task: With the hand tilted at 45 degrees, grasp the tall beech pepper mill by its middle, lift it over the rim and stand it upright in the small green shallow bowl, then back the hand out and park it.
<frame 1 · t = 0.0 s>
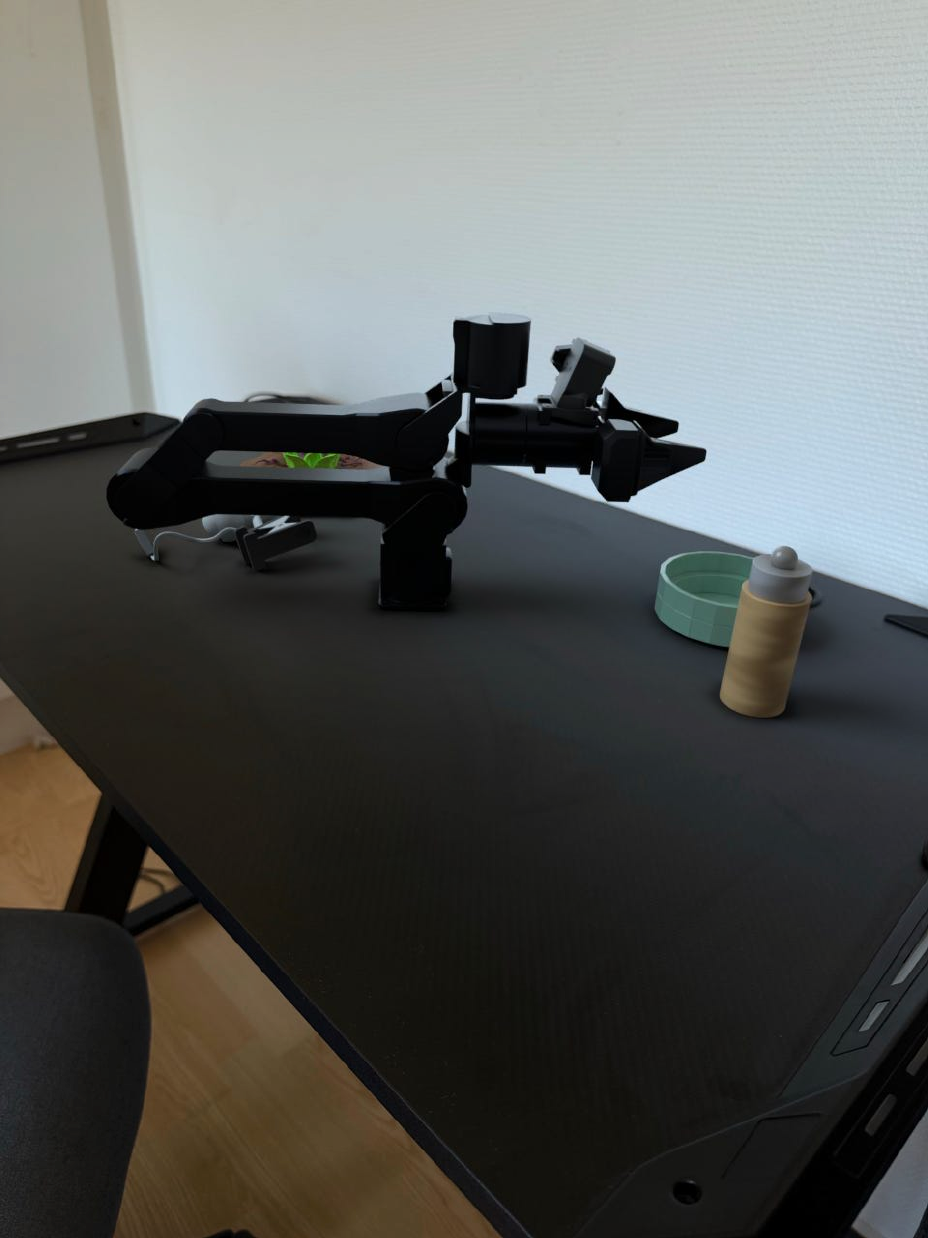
hand: (691, 440, 82), 17 cm above the table, tool horizontal, fingers open, 9 cm apart
pepper mill: (751, 700, 74), on the table
clip-on lamp: (225, 554, 96), on the table
plant: (311, 491, 115), on the table
green shallow bowl: (721, 620, 87), on the table
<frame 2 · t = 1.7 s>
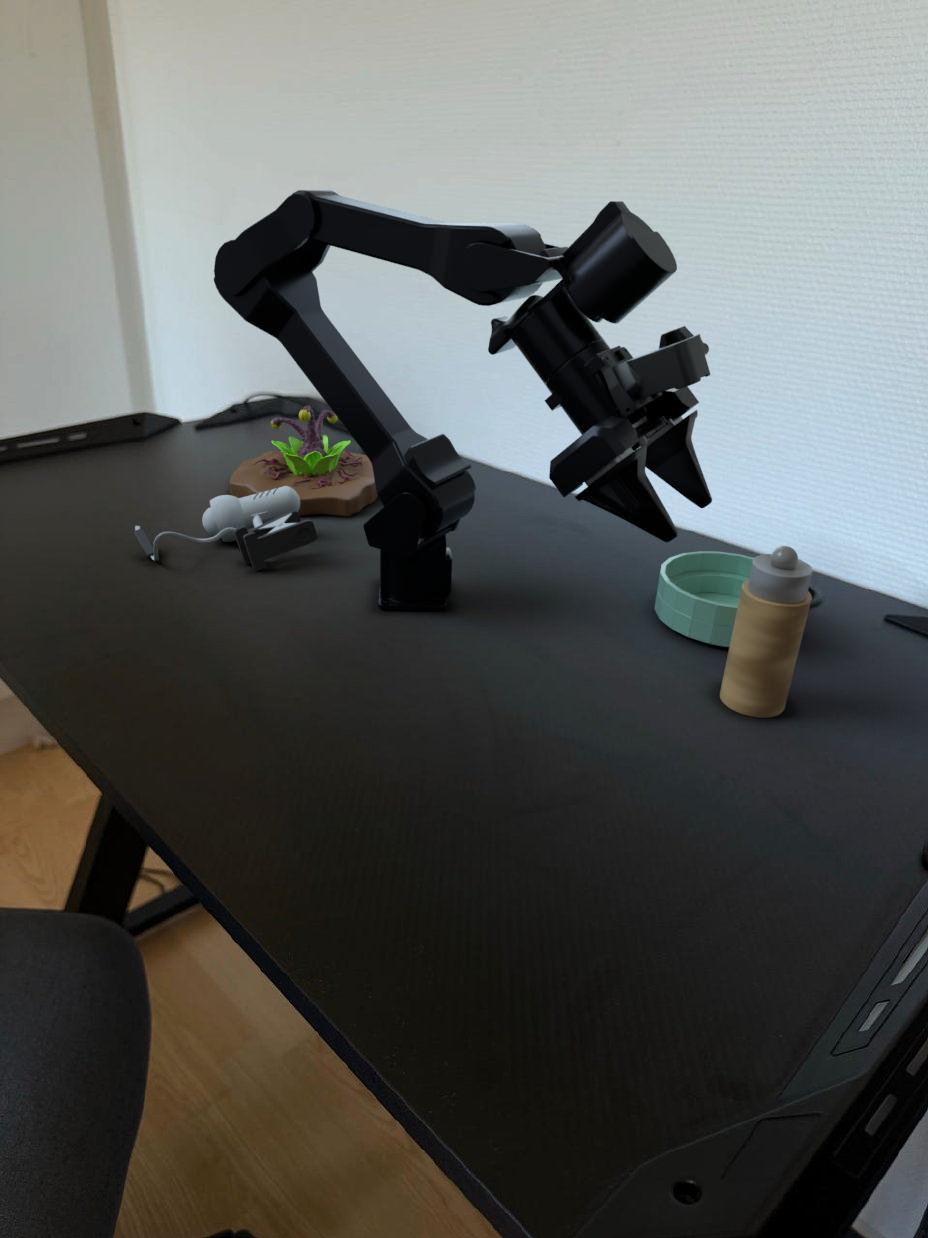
hand: (691, 521, 71), 14 cm above the table, tool tilted 45°, fingers open, 9 cm apart
nothing on the table moved.
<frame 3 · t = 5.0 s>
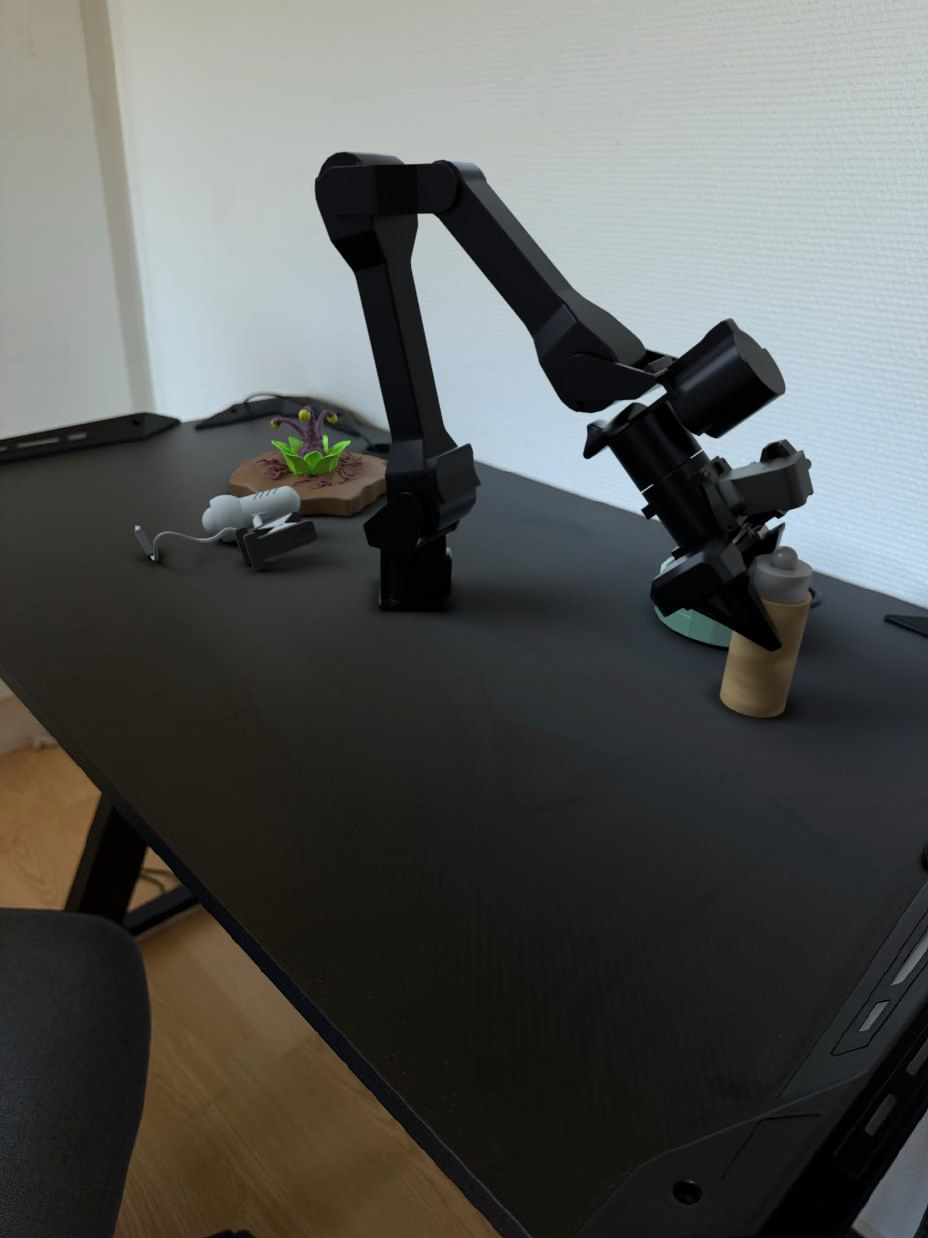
hand: (785, 635, 70), 7 cm above the table, tool tilted 45°, fingers closed on pepper mill, 5 cm apart
pepper mill: (752, 700, 74), on the table, touching gripper
everything else where it was.
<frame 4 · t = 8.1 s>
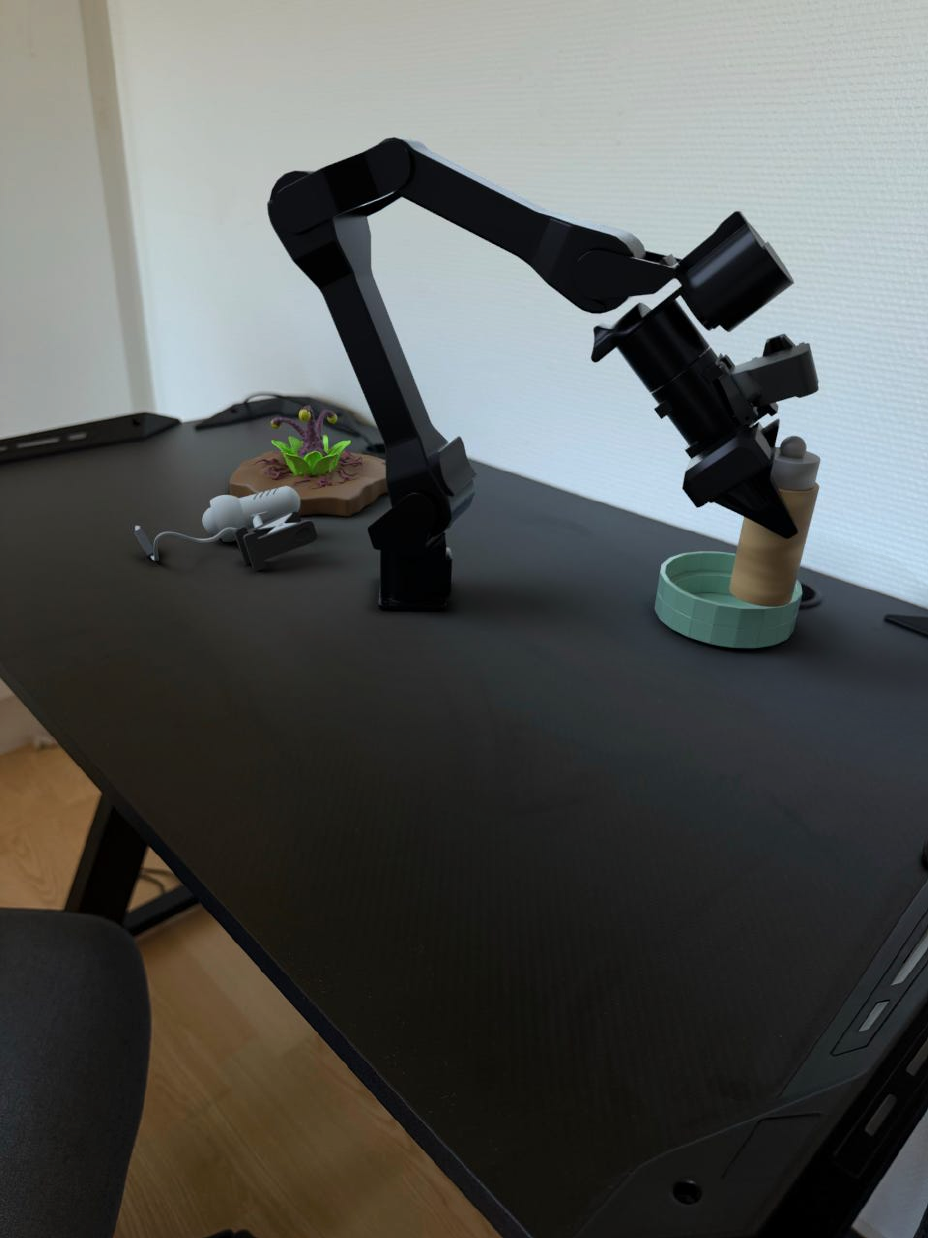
hand: (793, 524, 73), 13 cm above the table, tool tilted 45°, fingers closed on pepper mill, 5 cm apart
pepper mill: (759, 593, 76), point 7 cm above the table, touching gripper
everything else where it was.
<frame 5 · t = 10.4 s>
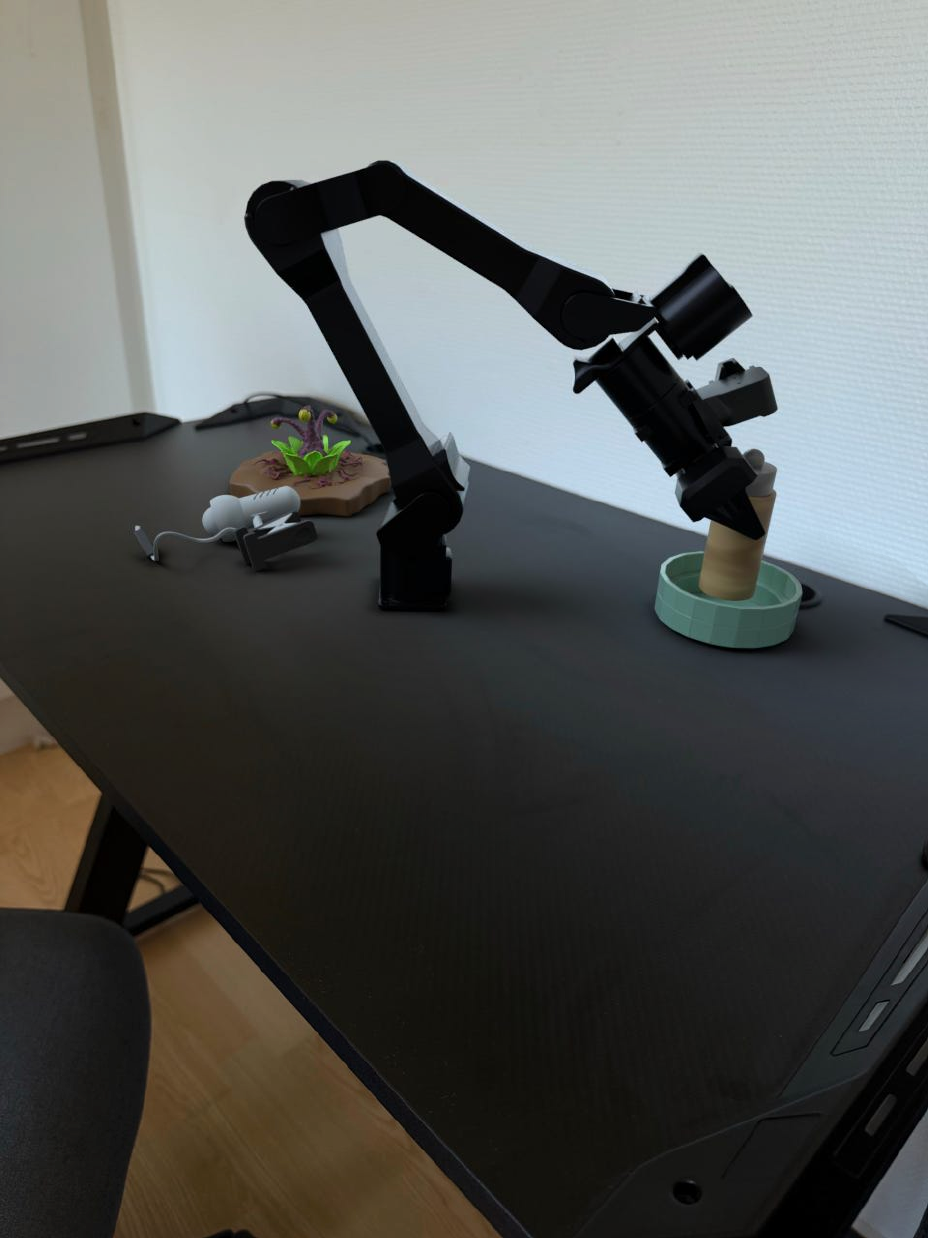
hand: (754, 525, 82), 10 cm above the table, tool tilted 45°, fingers closed on pepper mill, 5 cm apart
pepper mill: (726, 589, 85), point 3 cm above the table, touching gripper
everything else where it was.
when the fingers open (7 cm above the table, at t = 11.7 s): pepper mill stays where it is, resting on green shallow bowl.
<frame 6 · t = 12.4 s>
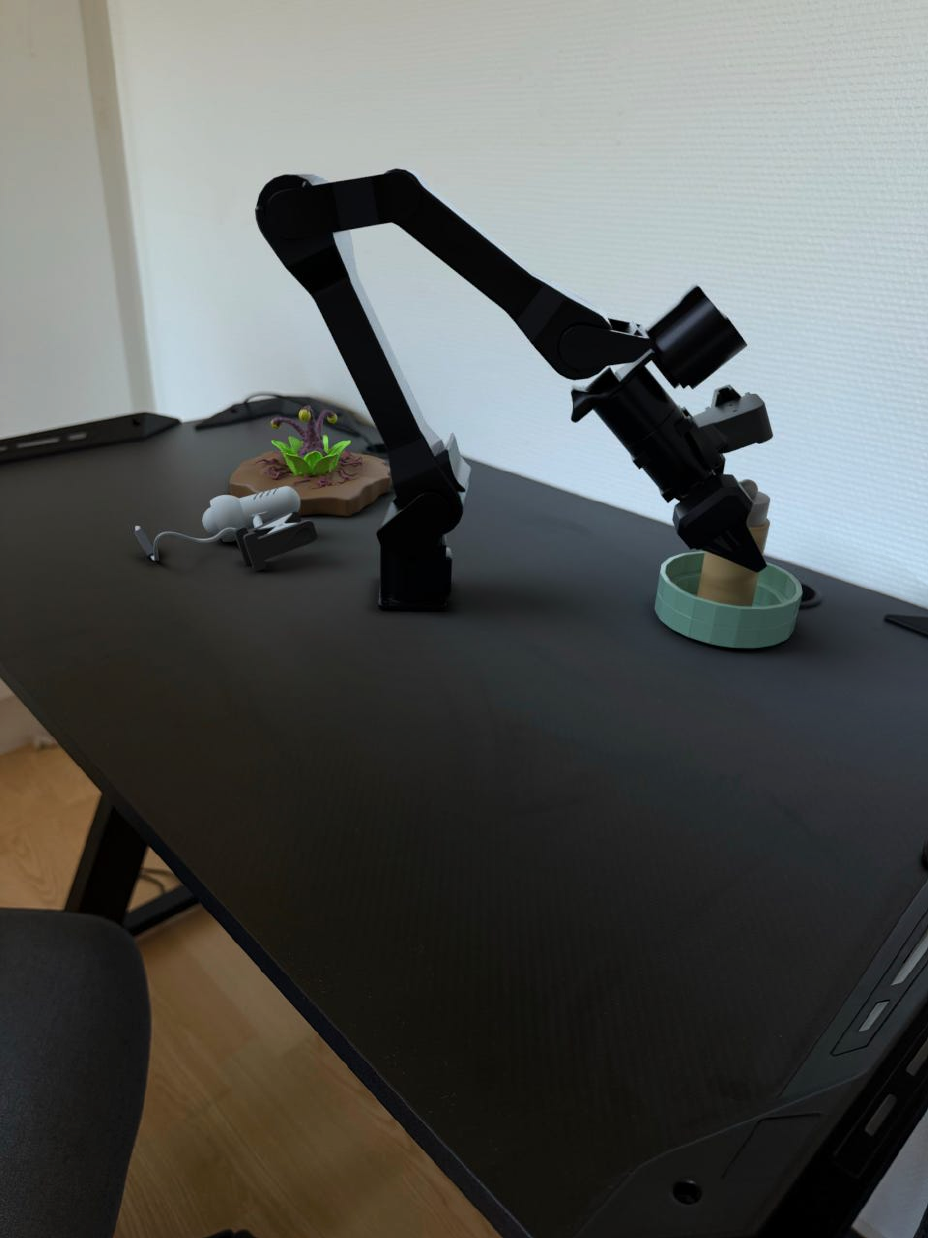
hand: (751, 549, 83), 8 cm above the table, tool tilted 45°, fingers open, 9 cm apart
pepper mill: (721, 615, 86), resting on green shallow bowl
everything else where it was.
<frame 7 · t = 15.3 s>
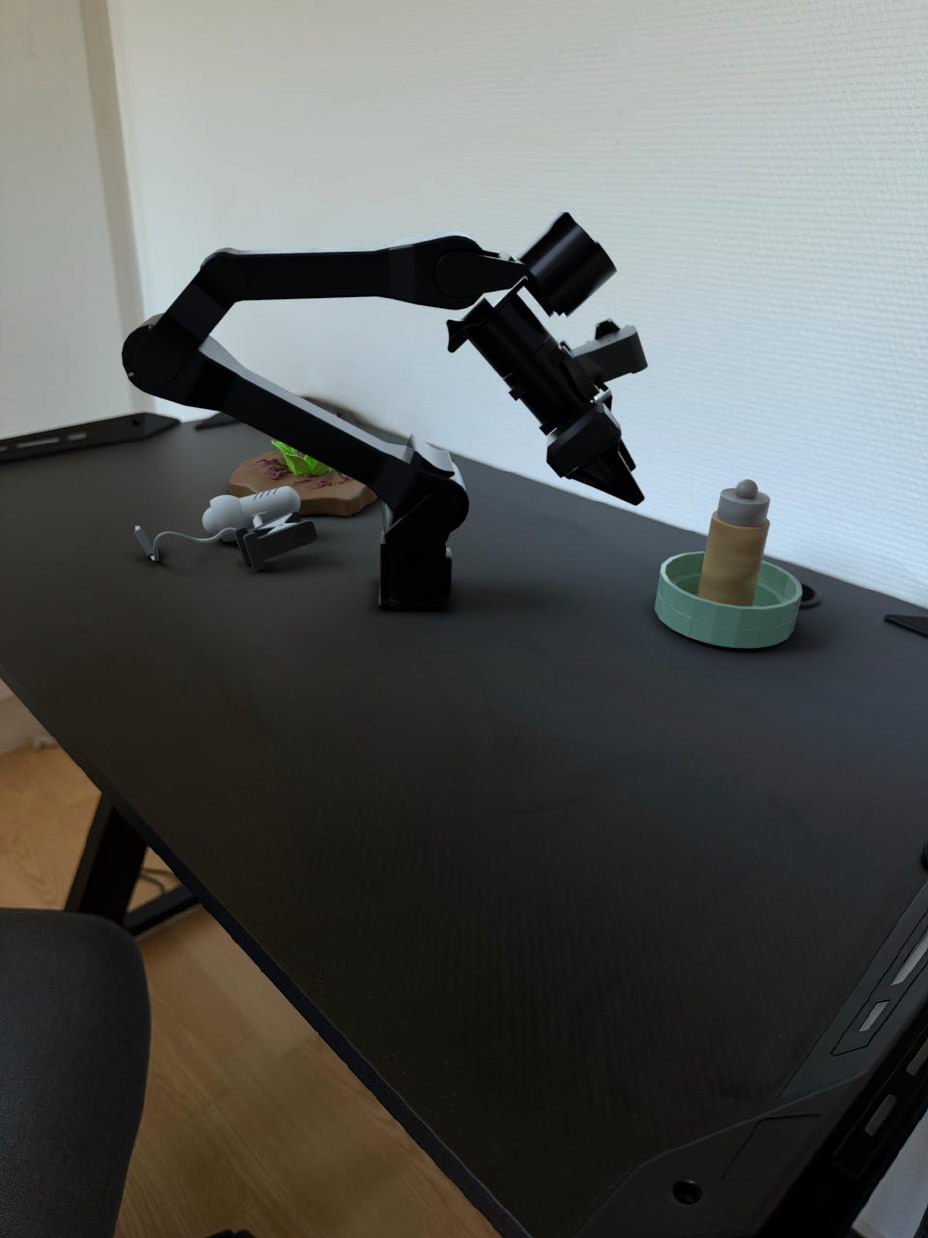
hand: (636, 485, 83), 12 cm above the table, tool tilted 45°, fingers open, 9 cm apart
nothing on the table moved.
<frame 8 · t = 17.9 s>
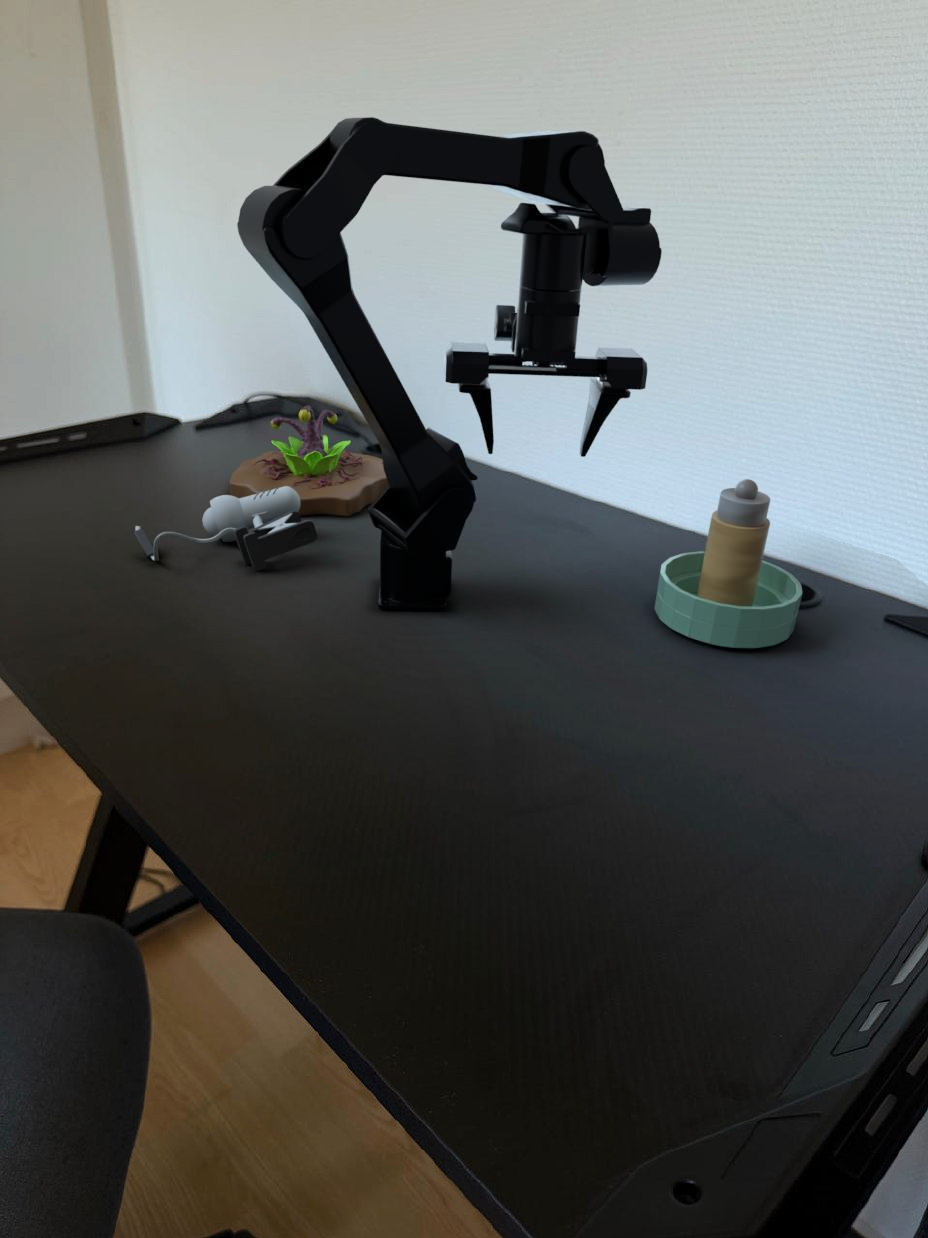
hand: (536, 454, 88), 13 cm above the table, tool pointing down, fingers open, 9 cm apart
nothing on the table moved.
at the end: pepper mill 0.1 cm off-centre in the green shallow bowl, point 0.5 cm above the green shallow bowl's base; pepper mill tilted 0°; the gripper is holding nothing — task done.
